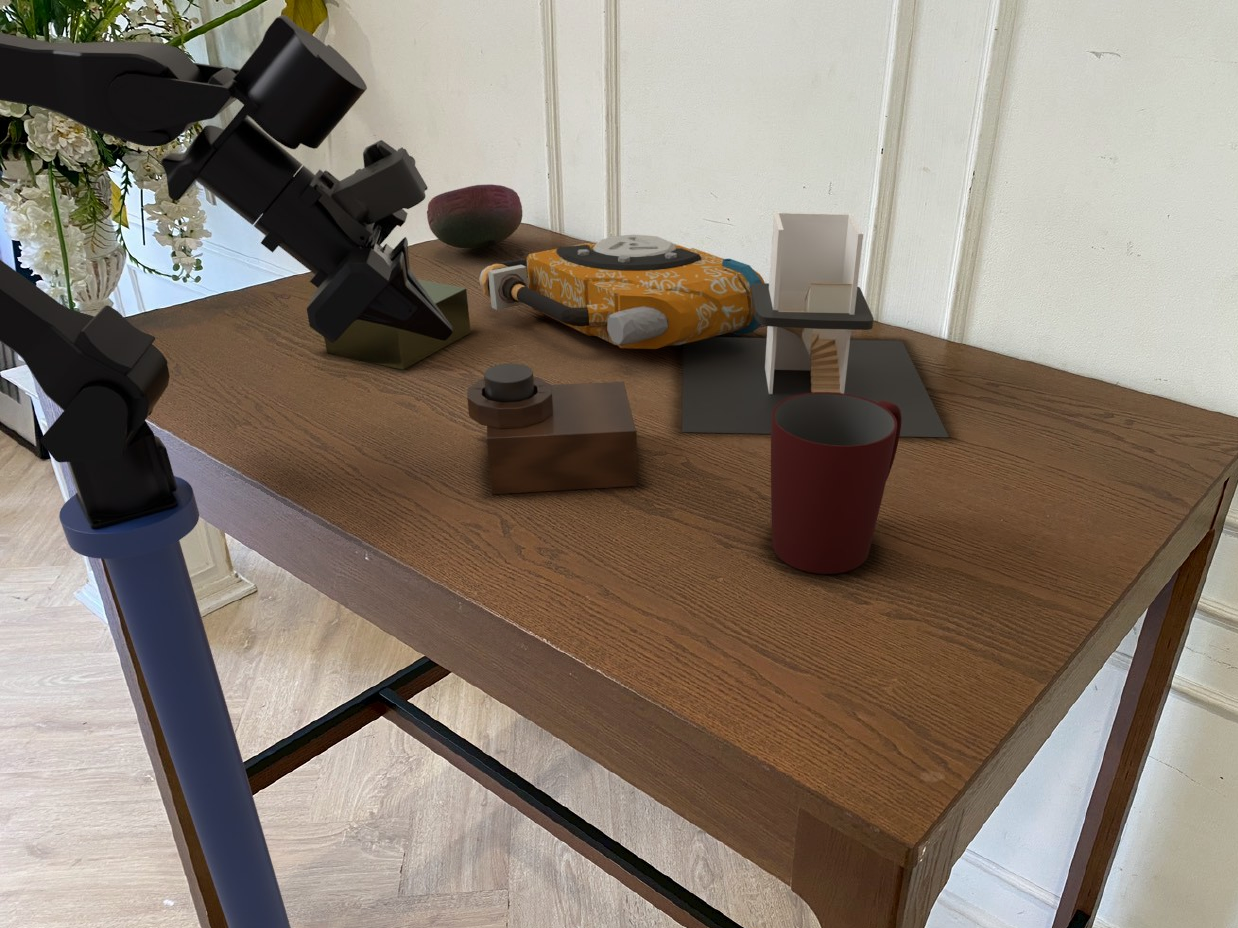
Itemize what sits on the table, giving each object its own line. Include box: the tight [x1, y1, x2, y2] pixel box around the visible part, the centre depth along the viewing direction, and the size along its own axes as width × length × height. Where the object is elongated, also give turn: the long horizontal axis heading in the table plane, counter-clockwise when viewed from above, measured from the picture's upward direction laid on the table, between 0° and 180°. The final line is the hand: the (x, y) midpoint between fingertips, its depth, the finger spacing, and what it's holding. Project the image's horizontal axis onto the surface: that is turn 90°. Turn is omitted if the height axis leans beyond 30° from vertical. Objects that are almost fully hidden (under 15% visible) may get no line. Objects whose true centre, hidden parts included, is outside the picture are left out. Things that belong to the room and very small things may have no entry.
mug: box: [770, 392, 902, 575], centre depth 76 cm, size 12×9×11 cm
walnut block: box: [466, 375, 638, 495], centre depth 86 cm, size 14×10×7 cm
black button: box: [483, 362, 534, 403], centre depth 84 cm, size 4×4×2 cm
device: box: [478, 234, 766, 350], centre depth 114 cm, size 23×8×30 cm
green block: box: [323, 278, 472, 371], centre depth 108 cm, size 13×10×7 cm
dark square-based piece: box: [681, 211, 950, 438], centre depth 100 cm, size 25×24×16 cm
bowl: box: [426, 183, 523, 249], centre depth 137 cm, size 16×13×8 cm
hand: (449, 335), depth 81 cm, fingers closed
